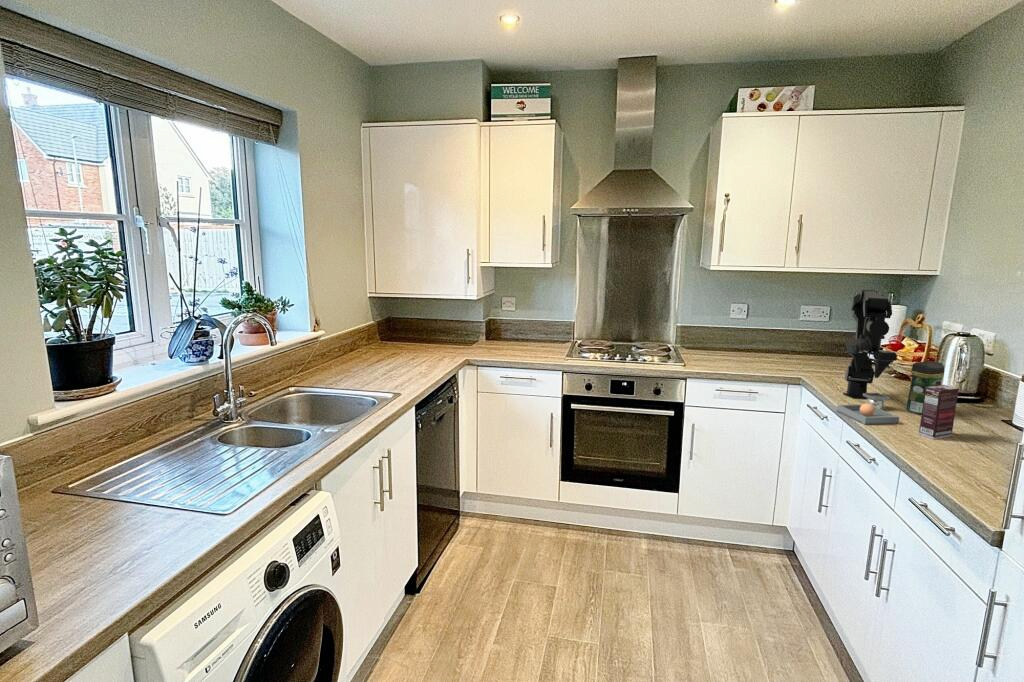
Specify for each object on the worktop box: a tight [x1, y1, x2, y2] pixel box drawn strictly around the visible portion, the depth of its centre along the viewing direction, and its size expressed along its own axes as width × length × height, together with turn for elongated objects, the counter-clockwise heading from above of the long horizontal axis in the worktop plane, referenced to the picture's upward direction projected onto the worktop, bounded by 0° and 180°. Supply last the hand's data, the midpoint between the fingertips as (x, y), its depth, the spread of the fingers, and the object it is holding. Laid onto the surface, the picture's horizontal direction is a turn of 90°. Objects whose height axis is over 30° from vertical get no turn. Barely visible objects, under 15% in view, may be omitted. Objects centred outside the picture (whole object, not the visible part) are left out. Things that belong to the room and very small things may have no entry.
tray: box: [836, 404, 900, 426], centre depth 188 cm, size 14×12×2 cm
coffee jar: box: [905, 360, 945, 415], centre depth 194 cm, size 10×8×19 cm
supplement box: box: [918, 384, 959, 440], centre depth 170 cm, size 9×5×16 cm, turn 109°
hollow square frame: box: [863, 392, 891, 411], centre depth 199 cm, size 6×6×5 cm
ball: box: [860, 402, 875, 416], centre depth 188 cm, size 4×4×4 cm
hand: (866, 374), depth 197 cm, fingers open, 9 cm apart
